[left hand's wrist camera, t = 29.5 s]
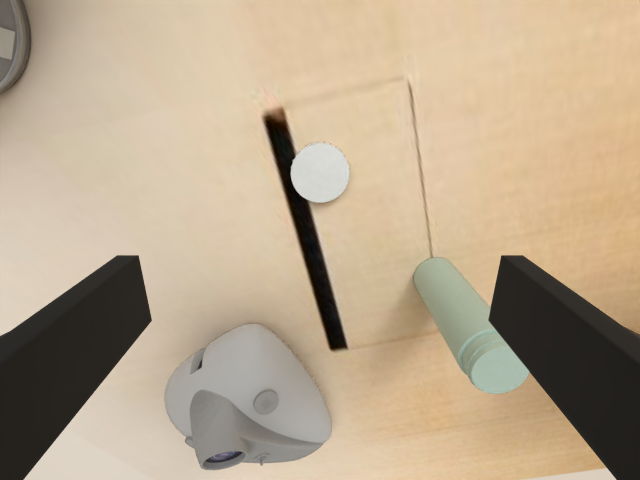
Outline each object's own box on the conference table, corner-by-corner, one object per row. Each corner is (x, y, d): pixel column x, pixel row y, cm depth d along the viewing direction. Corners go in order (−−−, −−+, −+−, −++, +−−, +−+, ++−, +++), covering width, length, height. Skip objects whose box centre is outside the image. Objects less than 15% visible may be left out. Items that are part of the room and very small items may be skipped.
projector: (185, 431, 52) (137, 544, 39) (176, 303, 44) (113, 388, 31) (327, 441, 53) (330, 555, 39) (345, 316, 45) (355, 406, 31)
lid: (360, 169, 38) (362, 172, 36) (322, 209, 40) (322, 215, 38) (318, 128, 37) (318, 129, 35) (280, 172, 39) (277, 176, 37)
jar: (406, 270, 43) (456, 362, 27) (445, 249, 42) (522, 333, 26) (424, 301, 45) (481, 406, 29) (462, 283, 44) (544, 380, 28)
